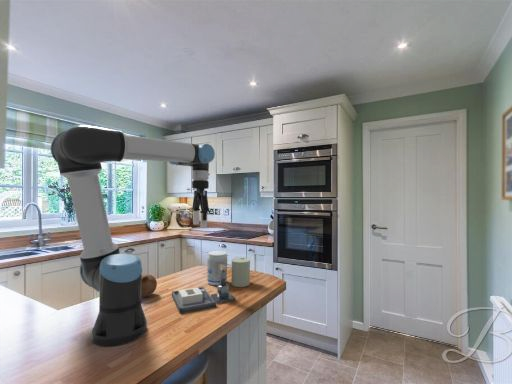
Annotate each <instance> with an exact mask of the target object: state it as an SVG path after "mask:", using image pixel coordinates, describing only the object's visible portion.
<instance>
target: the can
mask: <svg viewBox="0 0 512 384" xmlns="http://www.w3.org/2000/svg"><path fill="white" fill-rule="evenodd" d="M250 268H251V259H250V258H247V257H235V258H232V259H231V282H230V284H231V286H233V287H238V288H241V287H243V288H244V287H247V286H250V285H251V275H250V274H251V273H250V272H251V270H250Z"/></svg>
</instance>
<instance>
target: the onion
mask: <svg viewBox="0 0 512 384" xmlns="http://www.w3.org/2000/svg"><path fill="white" fill-rule="evenodd" d="M157 285H158V281H157V278H156V277H155V276H154V275H152V274H142V282H141V298H148V297H150V296H151V295H152V294H154V292H155V291H156V289H157Z"/></svg>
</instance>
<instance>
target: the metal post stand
mask: <svg viewBox="0 0 512 384" xmlns="http://www.w3.org/2000/svg"><path fill="white" fill-rule="evenodd" d="M220 268H221V270H220V284H218V285H216V286H217V292H216V293H211V294H210V296H211V297H212V298H213V299H214V300H215V302H216V305H218V304H223V303H229V302H235V301H236V297H235V295H233V294H232V293H231V292H230V285H229V283H227V281H226V270H227V271H228V265H227V266H225V265H224V264H220Z"/></svg>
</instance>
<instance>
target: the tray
mask: <svg viewBox="0 0 512 384" xmlns="http://www.w3.org/2000/svg"><path fill="white" fill-rule="evenodd" d="M198 288H199V290H200V289H204V290H205V298H203V301H201V302H196V303H190V304H184V305H182V304H181V302H180V300H179V298H178V290H172V291H171V298H172V299H173V301H174V304H175V306H176V308H177V310H178V312H179V314H184V313H190V312H195V311H200V310H205V309H211V308H215V307H217V303H216V302H215V300H214V299H213V298H212V297H211V294H210V293H209V292H208V291H207V290H206V288H205V287H204V286H199V287H198Z"/></svg>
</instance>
